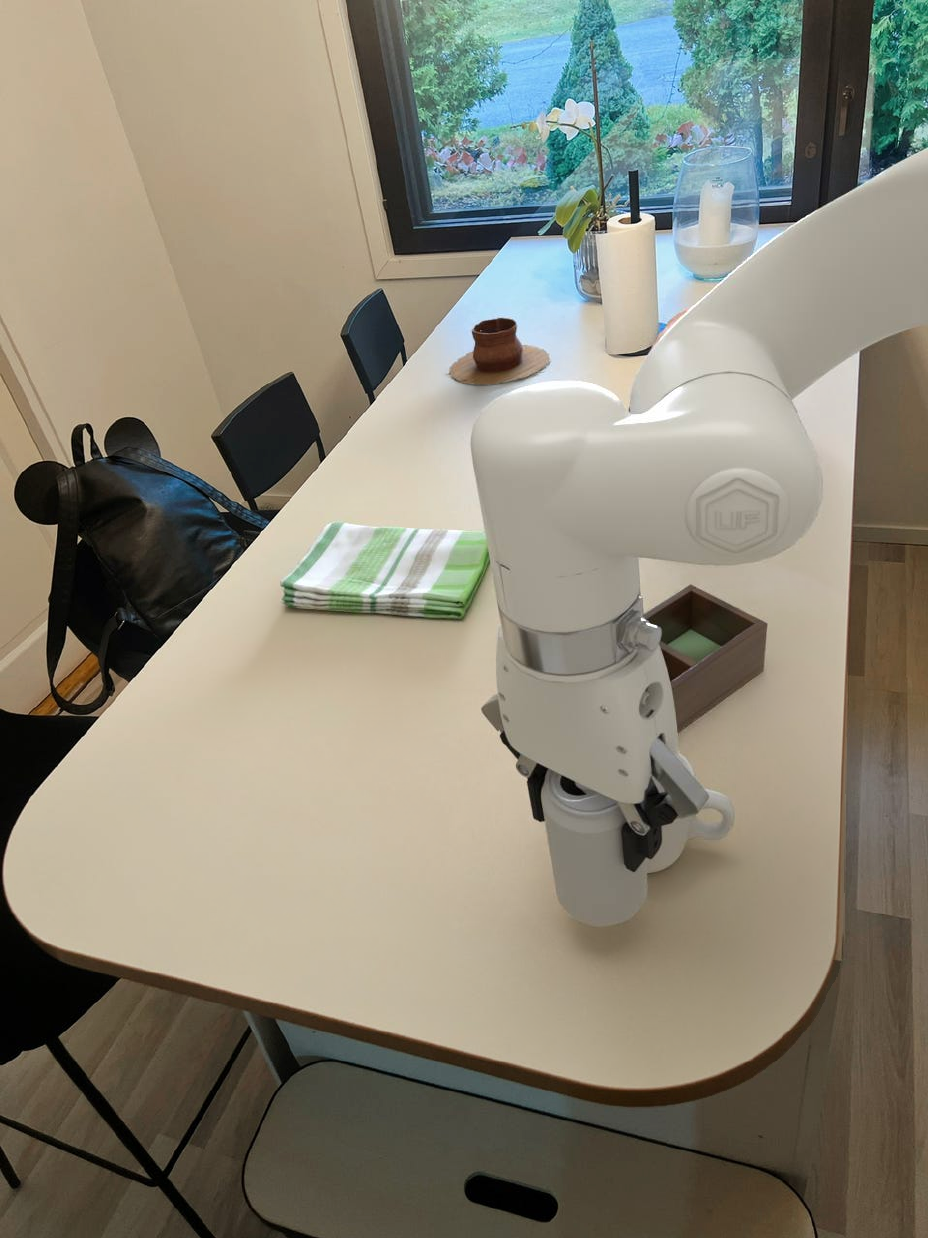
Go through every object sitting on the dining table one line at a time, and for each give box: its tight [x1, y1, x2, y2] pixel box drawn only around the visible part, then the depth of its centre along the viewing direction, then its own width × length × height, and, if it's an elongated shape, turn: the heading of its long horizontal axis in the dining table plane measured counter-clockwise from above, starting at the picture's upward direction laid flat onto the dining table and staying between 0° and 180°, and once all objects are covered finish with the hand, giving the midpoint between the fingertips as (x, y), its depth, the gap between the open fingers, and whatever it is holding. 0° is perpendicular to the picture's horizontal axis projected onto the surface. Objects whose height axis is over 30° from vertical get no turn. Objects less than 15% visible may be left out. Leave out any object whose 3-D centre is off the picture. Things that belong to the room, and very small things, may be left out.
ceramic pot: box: [448, 317, 551, 386], centre depth 152 cm, size 18×18×7 cm
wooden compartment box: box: [643, 584, 768, 734], centre depth 81 cm, size 9×18×6 cm, turn 127°
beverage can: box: [541, 769, 649, 928], centre depth 58 cm, size 6×6×12 cm
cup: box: [644, 751, 735, 874], centre depth 67 cm, size 11×8×8 cm
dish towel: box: [279, 521, 490, 619], centre depth 105 cm, size 17×23×4 cm
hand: (594, 828), depth 57 cm, fingers closed on beverage can, 6 cm apart
